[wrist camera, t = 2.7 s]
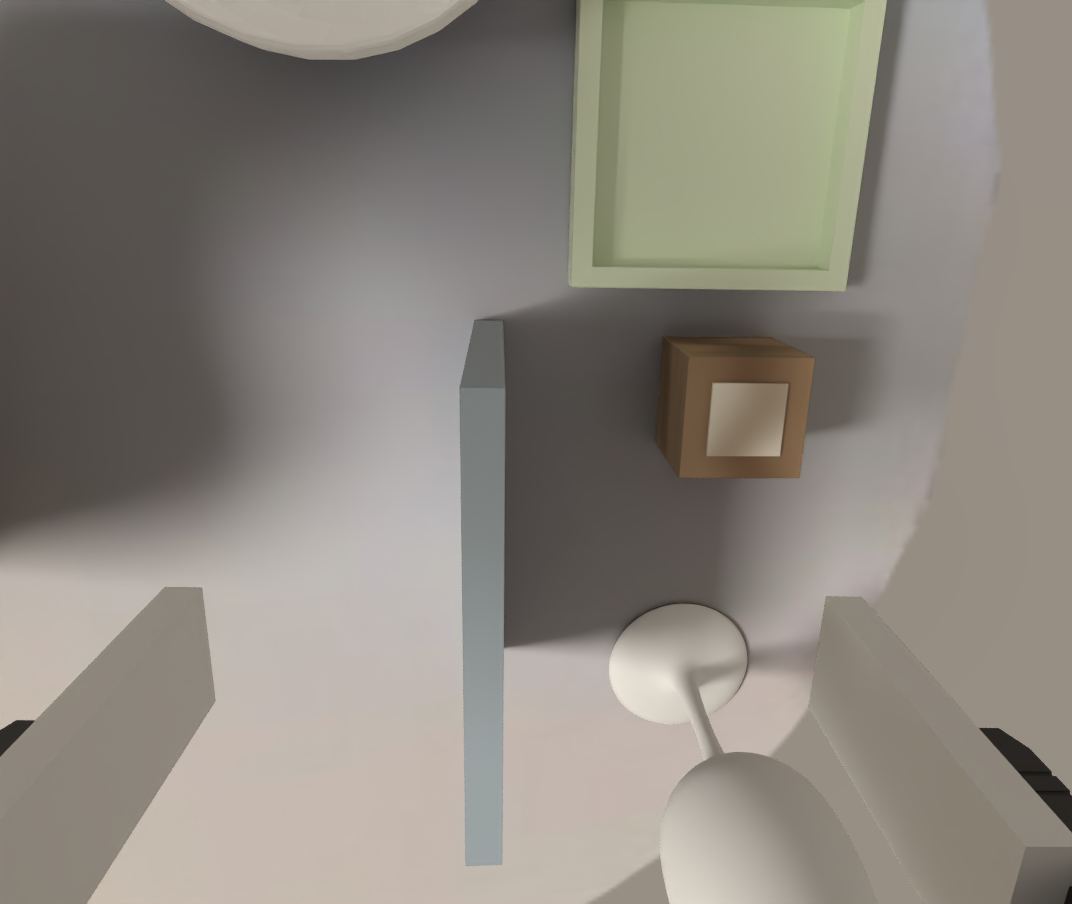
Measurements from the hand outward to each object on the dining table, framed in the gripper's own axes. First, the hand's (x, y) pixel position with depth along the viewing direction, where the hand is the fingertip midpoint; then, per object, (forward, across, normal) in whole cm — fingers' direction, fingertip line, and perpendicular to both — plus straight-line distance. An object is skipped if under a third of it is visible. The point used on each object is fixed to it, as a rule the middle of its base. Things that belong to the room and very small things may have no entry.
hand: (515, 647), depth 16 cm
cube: (+27, +11, 0) cm, 29 cm away
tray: (+26, +9, +12) cm, 31 cm away
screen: (+26, -2, -7) cm, 27 cm away
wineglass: (+27, +10, -18) cm, 34 cm away
